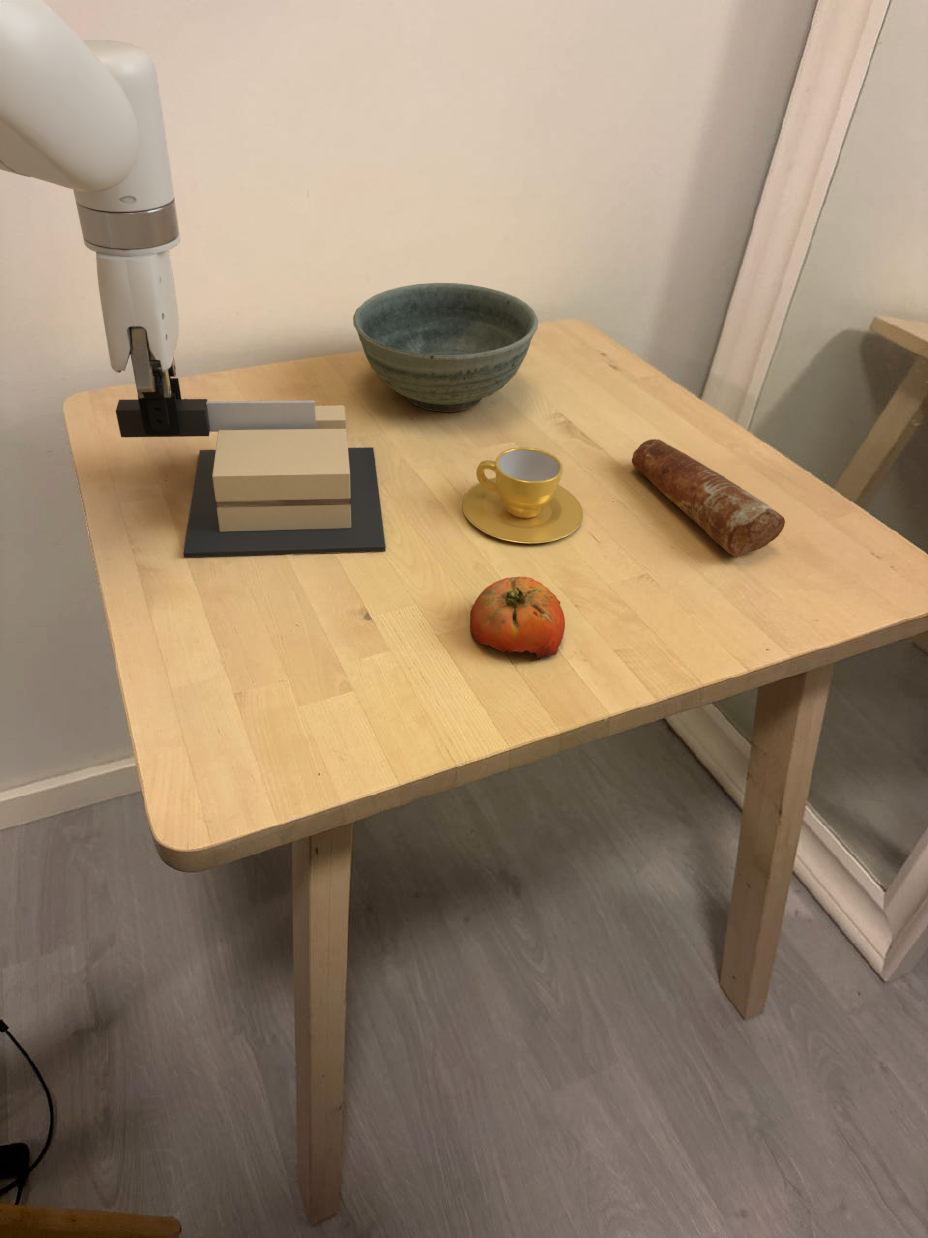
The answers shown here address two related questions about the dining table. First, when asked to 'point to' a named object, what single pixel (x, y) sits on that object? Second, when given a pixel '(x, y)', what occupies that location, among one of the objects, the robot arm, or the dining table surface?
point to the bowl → (445, 341)
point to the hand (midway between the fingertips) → (164, 424)
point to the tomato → (518, 617)
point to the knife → (222, 416)
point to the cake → (284, 495)
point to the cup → (522, 498)
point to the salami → (709, 498)
